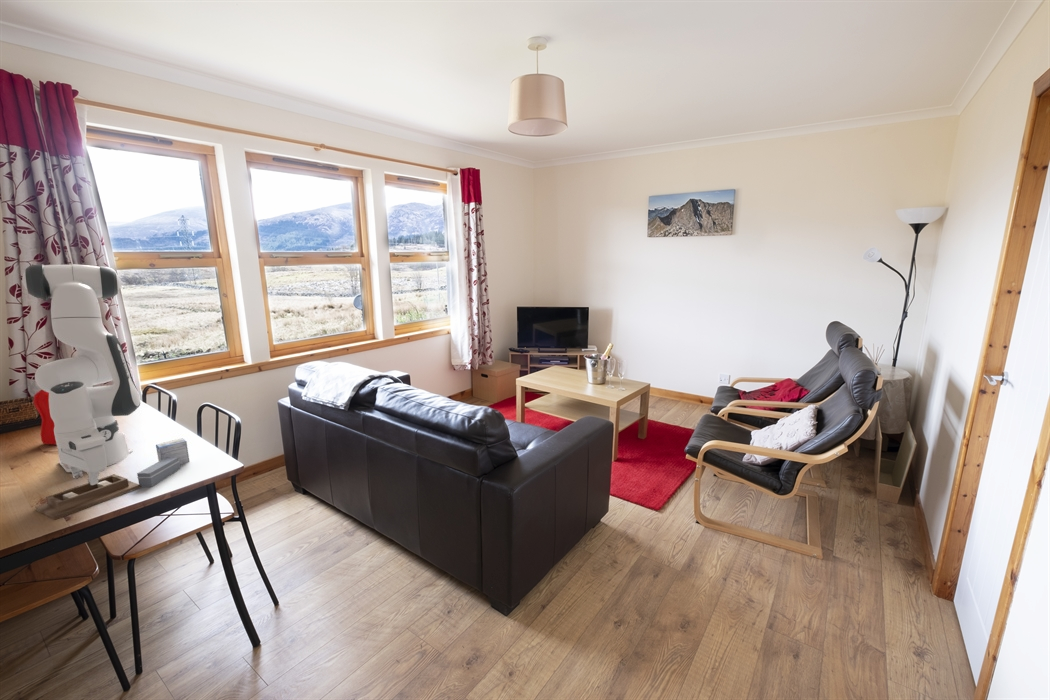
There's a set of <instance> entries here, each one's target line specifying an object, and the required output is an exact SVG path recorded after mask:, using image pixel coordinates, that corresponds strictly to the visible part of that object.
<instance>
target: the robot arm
mask: <svg viewBox="0 0 1050 700" xmlns="http://www.w3.org/2000/svg"><path fill="white" fill-rule="evenodd" d="M21 278H22V280H21V281H22V285H23V287H24V288H25V290H26V291H27V293H28V294H29V295H31V296H32V297H34V298H36V299H40V300H42V301H44V302H47V300H48V299H51V301H50V318H51V327H52V328H51V329H52V332H53V334H54V336H55V338H56V339H58V340H59V341H60V342H61V343H63V344H65V345H67V346H69V347H72V348H74V349H75V350H76V353H77V356H72V357H66V358H61V359H56V360H53V361H51V362H48V363H45V364H42V365H40V366H39V367H38V368H37V369H36V371H35V373H34V380H35V383H36V386H38V387H39V389H40V390H44V391H46V392H48V393H49V409H50V415H51V418H52V420H53V421H54V425H55V426H54V434H55V439H56V444H57V445H56V447H57V453H58V458H59V459H58V463H59V465H60V466H61V467H62V468H63V469H64V470H65V472H66V473H72V477H73V479H76V480H77V479H78V480H79V479H81V478H83V477H84V475H83V473H84V472H85V473H87V475H88V478H87V483H88V484H90V485H95V484H97V483H98V479H99V474H100V473H101V472H103V471H104V472H105V471H106V469H107V467H108V466H112V465H115V464H119V463H120V462H122V461H123V460H126V458H127V457H129V455H131V454H132V453H134V449H132V448H129V446H128V443H127V438H126V436H125V433H124V432H122V431H119V430H120V429H119V423H118V420H117V419H116V418H115V417H123V416H127V417H128V416H130V415H131V414H133V413H134V412H136V410H138V408H139V407H140V406H141V396H140V393H139V391H138V388H137V386H136V384H135V382H134V379H133V376H132V374H131V370H130V367H129V363H128V361H127V359H126V355H125V351H124V350H123V347H122V345H121V342H120V341H119V338H118V337H117V336H116V335H115V334H113V333H110V332H109V331H108V329H106V327H105V326H104V323H103V319H102V318H103V317H102V311H101V307H100V306H101V305H100V302H99V299H100V298H101V299H102V301H106V300H107V299H111V298H114V297H115V296H117V295H118V293H119V291H120V290H121V286H122V285H121V283H122V282H121V278H120V276H119V275H118V273H117V272H116V270H115V269H113V268H112V267H107V266H103V265H100V266H96V265H88V264H77V263H75V264H73V263H72V264H43V263H41V264H31V265H29V266H27V267H26V268H25V269H24V272H23V274H22V277H21ZM109 382H113V383H112V384H111V385H100V384H105V383H109ZM96 385H99V386H96Z"/></svg>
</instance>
